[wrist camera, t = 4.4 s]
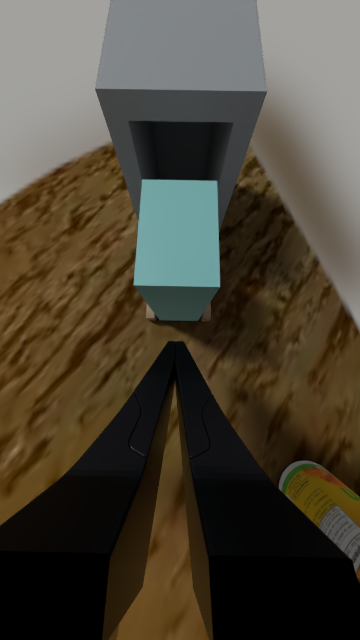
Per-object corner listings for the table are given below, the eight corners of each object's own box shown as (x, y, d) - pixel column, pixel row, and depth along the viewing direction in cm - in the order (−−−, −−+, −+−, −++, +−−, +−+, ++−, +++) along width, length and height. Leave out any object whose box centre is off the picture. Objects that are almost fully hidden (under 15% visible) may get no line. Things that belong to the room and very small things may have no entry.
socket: (214, 245, 18) (267, 91, 7) (146, 244, 18) (94, 88, 7) (212, 174, 19) (252, -33, 9) (151, 173, 20) (116, -34, 9)
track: (208, 321, 16) (211, 319, 15) (148, 320, 16) (145, 318, 15) (207, 245, 18) (209, 238, 16) (152, 244, 18) (151, 237, 16)
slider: (197, 320, 16) (220, 287, 7) (159, 320, 16) (133, 285, 7) (197, 252, 17) (216, 151, 8) (162, 251, 17) (144, 150, 8)
